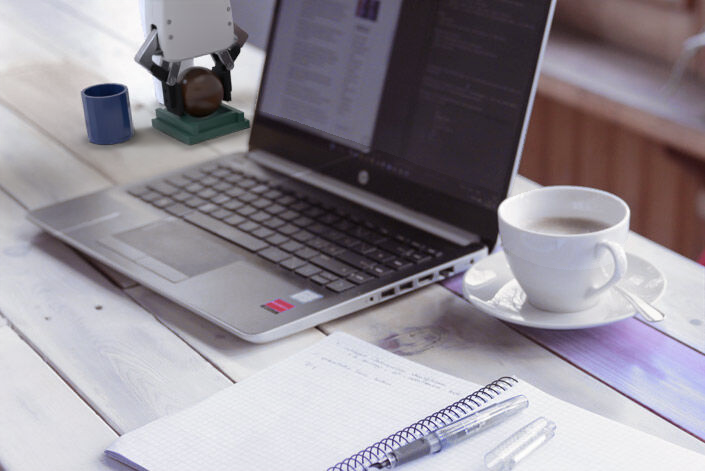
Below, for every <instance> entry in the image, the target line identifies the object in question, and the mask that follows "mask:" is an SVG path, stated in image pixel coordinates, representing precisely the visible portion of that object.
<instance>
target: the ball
mask: <svg viewBox="0 0 705 471" xmlns="http://www.w3.org/2000/svg"><path fill="white" fill-rule="evenodd" d="M177 83H178V84H180V85H181V87H182V96H183V104H184V114H186V115H188V116H190V117H195V118H203V117H207V116H209V115H211V114H213V113H214V112H215V111H217V110H218V108H219V107H220V105H221V104H222V103H223V102H224V101H223V98H224V88H223V84H222V82H221V80H220V78H219V77H218V75H217V74H216V73H215V72H213V71H212V70H211V68H208V67H205V66H200V65H194V66H193V67H189V68H187V69H185V70H183V71H182V72H181V73H180V74H179V75H178V77H177Z"/></svg>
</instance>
